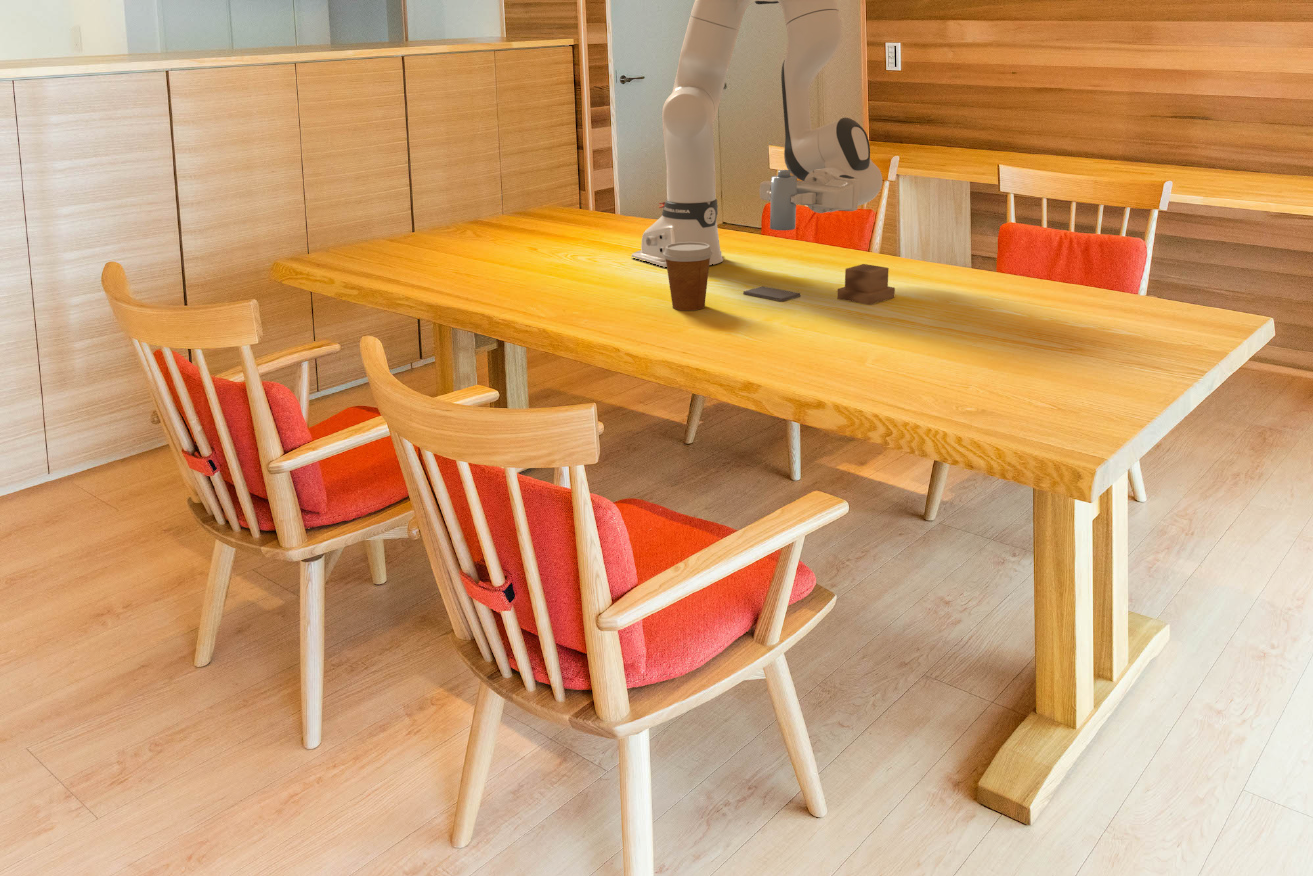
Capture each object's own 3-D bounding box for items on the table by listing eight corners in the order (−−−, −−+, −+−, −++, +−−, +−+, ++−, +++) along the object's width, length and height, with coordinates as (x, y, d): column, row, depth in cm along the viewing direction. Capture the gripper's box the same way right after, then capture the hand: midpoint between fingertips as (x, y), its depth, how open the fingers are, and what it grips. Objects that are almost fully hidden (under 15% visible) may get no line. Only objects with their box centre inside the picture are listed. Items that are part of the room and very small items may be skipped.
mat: (743, 294, 232) (743, 291, 232) (762, 289, 236) (762, 286, 236) (781, 301, 226) (781, 298, 225) (800, 296, 229) (800, 293, 229)
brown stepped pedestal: (837, 298, 227) (838, 268, 225) (861, 291, 232) (862, 262, 230) (870, 304, 221) (871, 274, 219) (894, 297, 226) (895, 267, 224)
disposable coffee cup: (662, 302, 227) (660, 242, 223) (709, 300, 228) (708, 240, 224) (667, 314, 218) (665, 252, 214) (716, 311, 219) (715, 249, 215)
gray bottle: (764, 228, 226) (766, 170, 222) (781, 225, 229) (782, 168, 225) (784, 231, 222) (785, 173, 218) (800, 227, 226) (802, 170, 222)
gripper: (785, 170, 238) (741, 177, 229) (865, 179, 224) (822, 186, 215) (784, 200, 240) (740, 208, 231) (863, 211, 226) (820, 220, 217)
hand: (780, 198), depth 223 cm, fingers closed on gray bottle, 5 cm apart
